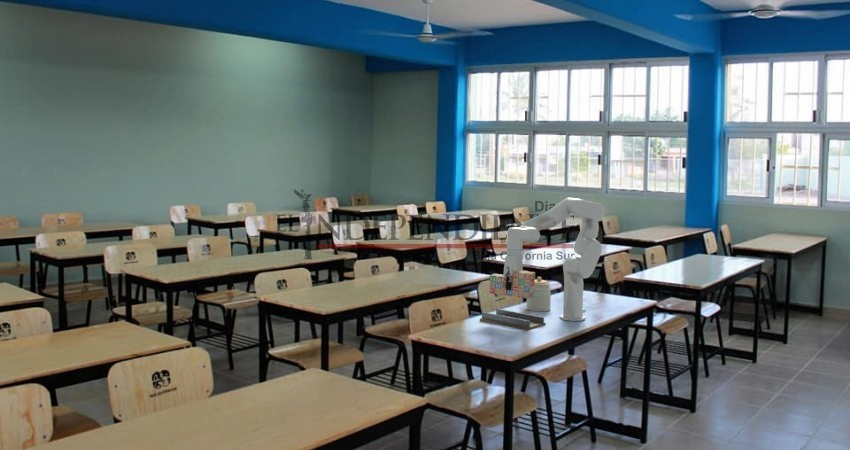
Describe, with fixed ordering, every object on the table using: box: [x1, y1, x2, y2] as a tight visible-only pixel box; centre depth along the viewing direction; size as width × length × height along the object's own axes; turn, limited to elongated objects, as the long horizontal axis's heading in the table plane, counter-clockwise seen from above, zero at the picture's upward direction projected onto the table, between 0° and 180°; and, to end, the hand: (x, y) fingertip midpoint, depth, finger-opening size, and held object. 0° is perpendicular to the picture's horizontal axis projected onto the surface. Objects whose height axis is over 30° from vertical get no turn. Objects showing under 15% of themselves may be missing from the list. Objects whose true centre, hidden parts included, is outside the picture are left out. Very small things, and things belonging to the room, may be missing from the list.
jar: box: [525, 276, 552, 312], centre depth 404 cm, size 13×13×18 cm
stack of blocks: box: [489, 270, 536, 299], centre depth 370 cm, size 21×6×12 cm, turn 61°
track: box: [479, 308, 547, 331], centre depth 371 cm, size 16×28×4 cm, turn 49°
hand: (512, 288), depth 370 cm, fingers closed on stack of blocks, 7 cm apart
